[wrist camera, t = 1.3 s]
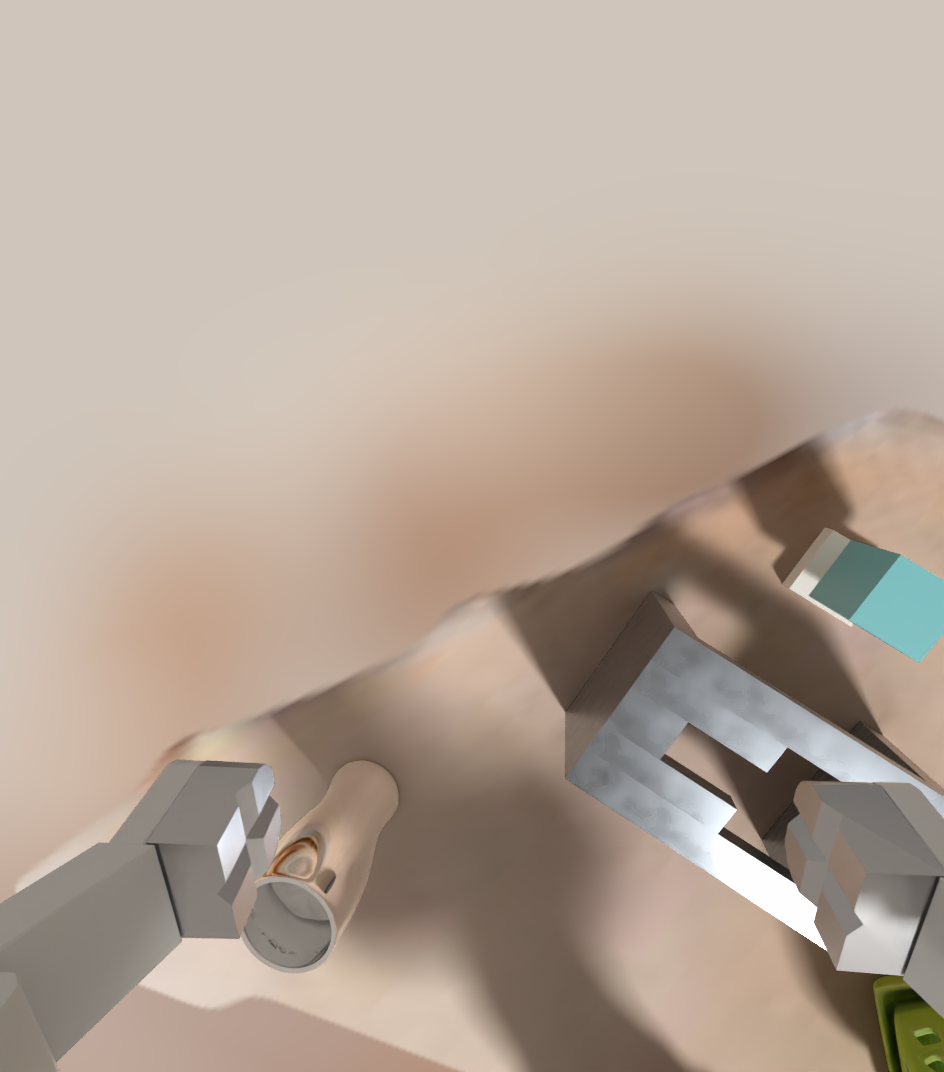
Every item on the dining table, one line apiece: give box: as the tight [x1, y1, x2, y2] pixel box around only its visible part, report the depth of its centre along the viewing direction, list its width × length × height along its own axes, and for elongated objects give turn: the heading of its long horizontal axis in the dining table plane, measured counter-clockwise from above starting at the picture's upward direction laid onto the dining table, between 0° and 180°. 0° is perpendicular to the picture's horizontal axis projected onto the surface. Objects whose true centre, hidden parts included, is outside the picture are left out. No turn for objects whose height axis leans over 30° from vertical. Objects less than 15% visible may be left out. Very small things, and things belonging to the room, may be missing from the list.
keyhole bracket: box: [565, 590, 944, 950], centre depth 41 cm, size 20×12×10 cm, turn 59°
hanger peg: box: [782, 528, 944, 662], centre depth 39 cm, size 5×5×10 cm
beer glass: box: [241, 760, 399, 973], centre depth 45 cm, size 7×7×15 cm
